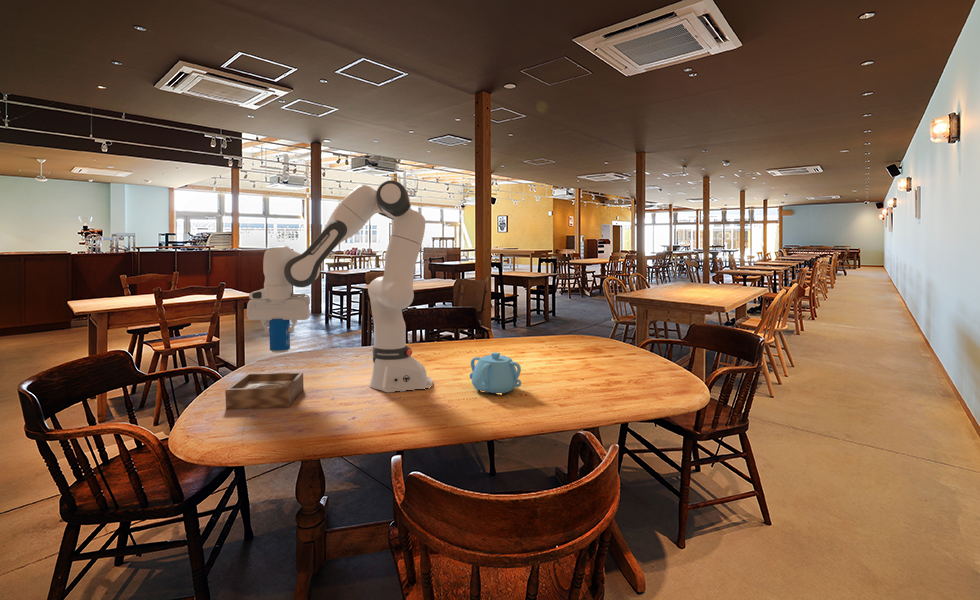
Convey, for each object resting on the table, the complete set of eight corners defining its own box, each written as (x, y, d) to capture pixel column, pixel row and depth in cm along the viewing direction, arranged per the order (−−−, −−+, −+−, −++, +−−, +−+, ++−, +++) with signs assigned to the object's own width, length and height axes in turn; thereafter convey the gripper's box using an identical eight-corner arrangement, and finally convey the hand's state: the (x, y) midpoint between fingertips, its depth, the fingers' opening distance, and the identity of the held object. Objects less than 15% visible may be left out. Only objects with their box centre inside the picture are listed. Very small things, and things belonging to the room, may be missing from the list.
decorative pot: (510, 383, 174) (511, 347, 172) (523, 396, 158) (524, 357, 156) (468, 385, 170) (468, 348, 168) (476, 398, 154) (477, 358, 153)
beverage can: (282, 353, 158) (281, 318, 157) (265, 352, 159) (264, 318, 158) (293, 350, 164) (293, 316, 164) (277, 349, 165) (277, 316, 165)
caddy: (303, 389, 159) (303, 372, 159) (289, 407, 142) (288, 388, 141) (247, 390, 157) (247, 373, 156) (226, 409, 139) (225, 389, 138)
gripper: (311, 292, 164) (312, 330, 166) (250, 292, 161) (252, 331, 163) (307, 294, 158) (308, 334, 160) (243, 293, 155) (245, 334, 157)
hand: (279, 332), depth 161 cm, fingers closed on beverage can, 6 cm apart
